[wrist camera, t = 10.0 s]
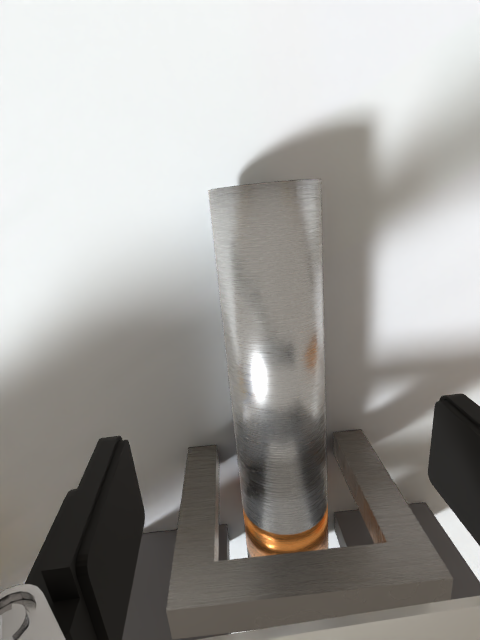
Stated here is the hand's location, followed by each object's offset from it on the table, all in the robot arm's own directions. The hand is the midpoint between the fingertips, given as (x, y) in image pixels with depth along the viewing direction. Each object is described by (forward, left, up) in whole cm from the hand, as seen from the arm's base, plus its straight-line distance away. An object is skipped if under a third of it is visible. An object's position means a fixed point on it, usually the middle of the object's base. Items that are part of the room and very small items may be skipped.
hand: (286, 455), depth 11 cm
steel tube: (+4, +1, -11) cm, 11 cm away
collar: (+8, +1, -11) cm, 13 cm away
